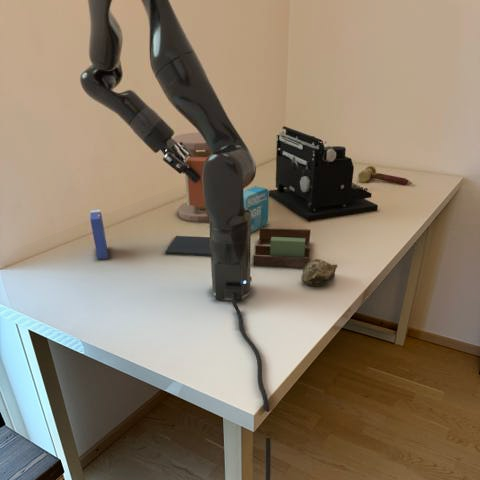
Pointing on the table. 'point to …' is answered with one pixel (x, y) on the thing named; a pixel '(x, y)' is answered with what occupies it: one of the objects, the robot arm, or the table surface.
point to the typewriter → (316, 179)
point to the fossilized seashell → (318, 272)
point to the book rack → (266, 260)
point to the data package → (257, 206)
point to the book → (195, 189)
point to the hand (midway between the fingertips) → (199, 178)
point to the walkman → (99, 234)
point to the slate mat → (190, 246)
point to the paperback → (287, 246)
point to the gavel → (380, 176)
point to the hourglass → (192, 144)
